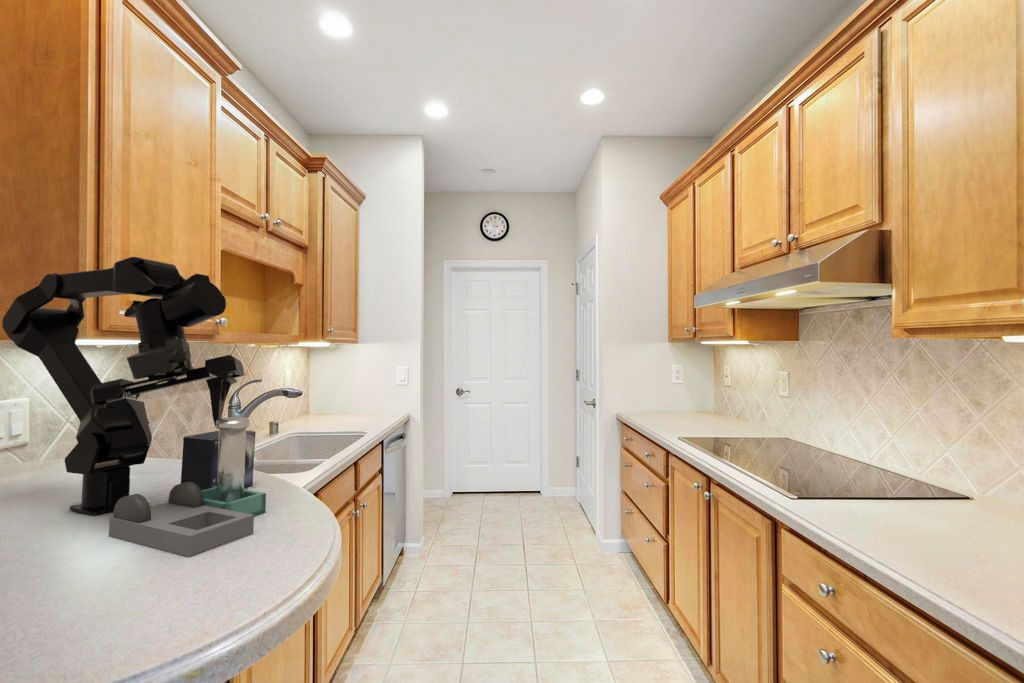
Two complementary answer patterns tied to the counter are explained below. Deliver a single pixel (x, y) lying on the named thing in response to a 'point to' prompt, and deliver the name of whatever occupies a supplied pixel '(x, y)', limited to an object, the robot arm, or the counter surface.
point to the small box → (211, 459)
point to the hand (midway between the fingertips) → (183, 435)
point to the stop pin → (231, 458)
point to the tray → (237, 502)
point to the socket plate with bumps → (178, 522)
